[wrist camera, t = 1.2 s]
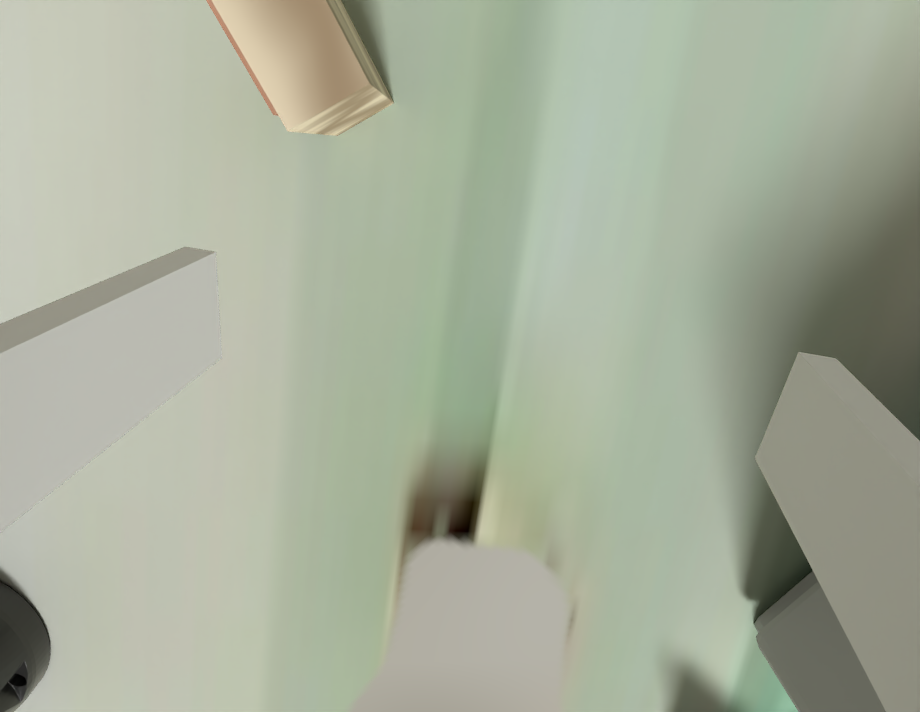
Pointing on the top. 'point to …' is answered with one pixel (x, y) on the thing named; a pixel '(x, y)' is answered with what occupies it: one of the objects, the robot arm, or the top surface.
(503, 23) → the top surface
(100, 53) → the top surface
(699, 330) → the top surface
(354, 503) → the top surface
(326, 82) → the maple finger
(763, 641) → the laptop
